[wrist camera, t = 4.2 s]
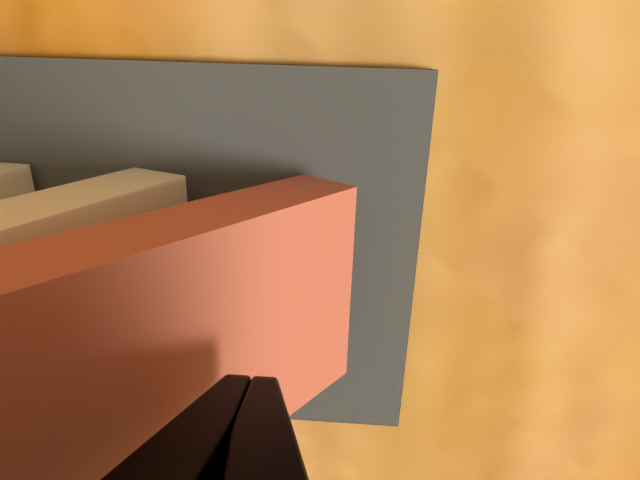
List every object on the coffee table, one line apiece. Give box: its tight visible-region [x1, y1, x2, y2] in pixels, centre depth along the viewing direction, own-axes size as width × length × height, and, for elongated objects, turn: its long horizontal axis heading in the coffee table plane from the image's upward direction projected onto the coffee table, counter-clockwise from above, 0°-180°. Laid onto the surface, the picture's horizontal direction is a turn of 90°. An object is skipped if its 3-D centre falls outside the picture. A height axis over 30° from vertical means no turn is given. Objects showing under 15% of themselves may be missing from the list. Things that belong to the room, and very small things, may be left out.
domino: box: [0, 174, 357, 480], centre depth 9 cm, size 2×5×9 cm
